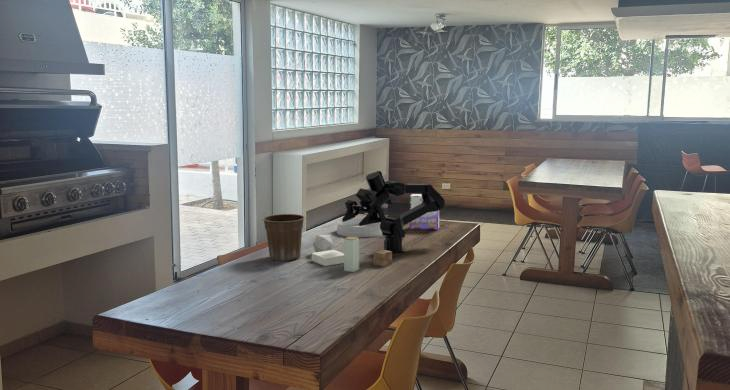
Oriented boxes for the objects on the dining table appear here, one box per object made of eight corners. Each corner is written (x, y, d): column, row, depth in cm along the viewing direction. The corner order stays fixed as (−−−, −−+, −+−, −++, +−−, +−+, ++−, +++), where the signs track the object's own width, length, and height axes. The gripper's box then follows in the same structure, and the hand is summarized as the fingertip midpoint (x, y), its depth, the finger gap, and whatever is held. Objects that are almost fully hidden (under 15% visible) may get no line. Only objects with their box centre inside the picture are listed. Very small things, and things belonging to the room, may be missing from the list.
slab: (333, 257, 257) (333, 249, 257) (347, 262, 249) (347, 254, 249) (311, 260, 252) (311, 253, 251) (324, 266, 244) (324, 258, 243)
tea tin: (349, 268, 241) (349, 236, 239) (359, 269, 239) (358, 237, 237) (344, 270, 237) (343, 238, 236) (353, 271, 235) (353, 239, 234)
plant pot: (264, 263, 247) (263, 222, 245) (262, 254, 263) (261, 214, 261) (307, 261, 251) (306, 220, 248) (302, 252, 266) (302, 213, 264)
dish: (355, 226, 321) (355, 216, 320) (393, 231, 308) (393, 221, 307) (327, 234, 303) (327, 223, 302) (365, 240, 290) (365, 229, 289)
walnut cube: (381, 262, 250) (381, 249, 249) (391, 264, 247) (391, 251, 246) (373, 264, 246) (373, 251, 246) (383, 266, 243) (383, 253, 242)
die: (325, 259, 256) (338, 238, 258) (307, 248, 257) (320, 227, 259) (326, 262, 264) (339, 241, 266) (308, 251, 265) (321, 231, 267)
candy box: (439, 227, 316) (440, 194, 313) (438, 230, 310) (438, 196, 308) (411, 226, 319) (411, 193, 316) (409, 228, 313) (409, 195, 311)
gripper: (354, 180, 261) (327, 201, 252) (388, 187, 248) (361, 209, 239) (362, 203, 266) (336, 225, 257) (396, 211, 253) (370, 233, 244)
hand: (350, 222), depth 249 cm, fingers open, 9 cm apart
